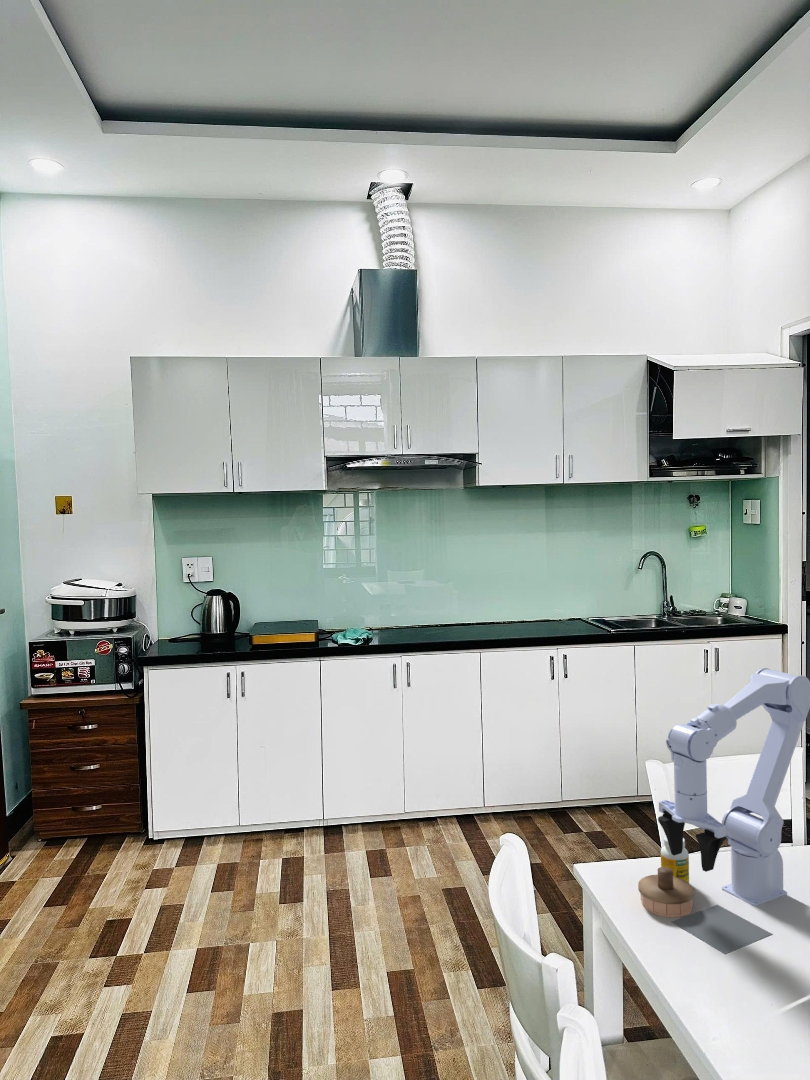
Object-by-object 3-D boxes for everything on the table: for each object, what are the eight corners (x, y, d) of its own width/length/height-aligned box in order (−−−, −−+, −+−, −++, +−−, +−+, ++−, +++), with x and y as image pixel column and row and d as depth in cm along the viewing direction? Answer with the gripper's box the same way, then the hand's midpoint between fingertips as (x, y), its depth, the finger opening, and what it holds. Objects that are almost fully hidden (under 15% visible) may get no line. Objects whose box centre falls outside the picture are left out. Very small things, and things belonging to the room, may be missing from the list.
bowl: (666, 890, 157) (665, 875, 157) (702, 910, 149) (702, 894, 149) (631, 902, 153) (630, 886, 153) (667, 923, 145) (666, 907, 145)
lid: (666, 874, 158) (666, 854, 157) (705, 896, 149) (705, 875, 148) (627, 886, 153) (626, 865, 153) (664, 909, 144) (664, 887, 144)
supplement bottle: (672, 876, 163) (672, 830, 162) (695, 886, 158) (694, 839, 158) (655, 884, 160) (654, 837, 159) (677, 894, 155) (676, 846, 155)
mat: (717, 906, 150) (717, 904, 150) (772, 936, 140) (772, 934, 140) (671, 923, 145) (671, 921, 145) (724, 956, 134) (724, 953, 134)
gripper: (646, 782, 152) (647, 851, 153) (705, 807, 139) (707, 882, 140) (673, 775, 155) (674, 843, 156) (734, 799, 142) (735, 873, 143)
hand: (691, 861), depth 148 cm, fingers open, 7 cm apart
